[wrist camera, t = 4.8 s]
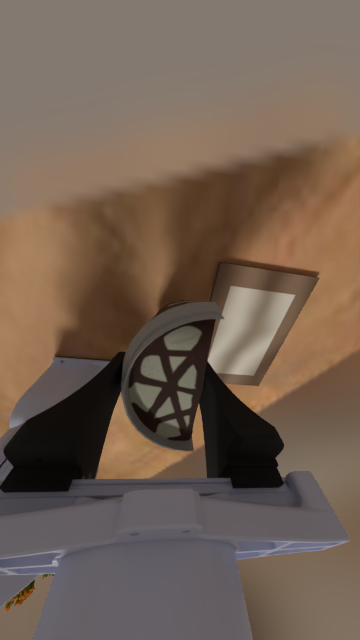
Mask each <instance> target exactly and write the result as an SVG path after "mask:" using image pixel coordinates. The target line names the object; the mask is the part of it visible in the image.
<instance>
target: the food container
mask: <svg viewBox="0 0 360 640" xmlns="http://www.w3.org/2000/svg"><path fill="white" fill-rule="evenodd" d="M216 319H224V317H223V316H222V315H221V309H220V308H219V306H218V305H217V304H216V302H203V301H202V302H194V301H179V302H175V303H171V304H169V305H167V306H166V307H164V308H162V309H161V310H159V312H158V313H157V314H156V315H155V316H154V317H153V319H152V320H150V321H149V322H148V323H147V324H146V325H145V326H144V327H142V328H141V329H140V330H139V332H138V333H137V334H136V336H135V337H134V338H133V339H132V341H131V343H130V345H129V347H128V349H127V350H126V353H125V357H124V360H123V365H122V374H121V394H122V399H123V403H124V407H125V410H126V414H127V416H128V418H129V420H130V421H131V423H132V424H133V426H134V427H135V428H136V430H137V431H138V432H139V433H141V434H142V435H143V436H144V437H145V438H147V439H148V440H150V441H151V442H153V443H155V444H157V445H159V446H162V447H165V448H168V449H172V450H177V451H184V452H194V450H193V443H192V429H193V423H194V419H195V415H196V411H197V407H198V404H199V401H200V397H201V394H202V390H203V384H204V378H205V371H206V365H207V360H208V354H209V350H210V345H211V340H212V335H213V331H214V326H215V321H216Z"/></svg>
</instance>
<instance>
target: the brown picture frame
mask: <svg viewBox="0 0 360 640" xmlns="http://www.w3.org/2000/svg"><path fill="white" fill-rule="evenodd" d="M318 280H319V278H317V277H312V276H306V275H299V274H293V273H287V272H280V271H274V270H268V269H262V268H255V267H249V266H243V265H236V264H230V263H224V262H219V266H218V270H217V273H216V277H215V281H214V285H213V289H212V293H211V297H210V301H209V302H216V304H217V305H218V306H219V308H220V309H221V315H222V316H223V317H224V319H216V321H215V326H214V331H213V335H212V340H211V345H210V350H209V354H208V360H207V361H208V362H209V364H210V365H211V367H212V368H213V369H214V371H215V372H216V374H217V375H218V376H219V378H220V379H221V380H222V381H223V383H224V384H238V385H253V386H259V384H260V383H261V381H262V379H263V377H264V375H265V374H266V372H267V370H268V368H269V367H270V365H271V363H272V361H273V360H274V358H275V356H276V354H277V353H278V351H279V349H280V347H281V345H282V344H283V342H284V340H285V338H286V337H287V335H288V333H289V331H290V330H291V328H292V326H293V324H294V322H295V321H296V319H297V317H298V315H299V314H300V312H301V310H302V308H303V307H304V305H305V303H306V301H307V299H308V298H309V296H310V294H311V292H312V291H313V289H314V287H315V285H316V284H317V282H318Z"/></svg>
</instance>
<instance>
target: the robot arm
mask: <svg viewBox="0 0 360 640" xmlns="http://www.w3.org/2000/svg"><path fill="white" fill-rule="evenodd" d="M125 353H126V352H118V354H117V355H116V356H115V357H114V358H113V359H112V360H111V361H102V360H89V359H75V358H62V357H54V358H53V359H52V363H53V364H52V365H51V366H50V367H49V368H48V369H47V370H46V371H45V372H44V373H43V374H42V375H41V377H40V378H39V379H38V380H37V381H36V382H35V383H34V384H33V385H32V386H31V387H30V388H29V389H28V390H27V391H26V392H25V394H24V395H23V396H22V397H21V398H20V400H19V401H18V402H17V404H16V406H15V408H14V410H13V412H12V414H11V417H10V422H9V427H10V429H9V430H8V431H7V432H6V433H5V434H4V435H3V436H2V437H1V438H0V608H1V607H2V606H3V605H4V604H6V603H7V602H8V601H9V600H10V599H12V598H13V597H14V596H15V595H17V594H18V593H19V592H20V591H21V590H23V589H24V588H25V587H26V586H27V585H29V584H30V583H31V582H32V581H33V580H35V579H36V578H37V577H38V576H39V575H40V574H55V575H54V578H53V582H52V584H51V587H50V590H49V593H48V595H47V598H46V601H45V604H44V607H43V610H42V613H41V616H40V618H39V622H38V624H37V627H36V630H35V633H34V636H33V639H32V640H253V638H252V633H251V628H250V623H249V618H248V613H247V608H246V603H245V598H244V594H243V589H242V584H241V579H240V574H239V569H238V564H237V560H239V559H246V558H255V557H263V556H271V555H280V554H288V553H298V552H308V551H321V550H324V549H327V548H330V547H333V546H336V545H339V544H342V543H345V542H348V541H350V537H349V535H348V533H347V532H346V530H345V528H344V527H343V525H342V523H341V522H340V520H339V519H338V517H337V515H336V513H335V512H334V510H333V508H332V507H331V505H330V503H329V502H328V500H327V498H326V497H325V495H324V493H323V492H322V490H321V488H320V487H319V485H318V483H317V481H316V480H315V478H314V477H313V475H312V473H311V472H309V471H295V472H290V473H289V474H287V475H286V477H285V478H283V477H281V476H280V473H279V471H278V469H277V466H278V463H277V461H276V459H275V458H276V457H277V455H278V454H279V453H280V452H281V451H282V450H283V448H284V443H283V442H282V439H281V438H280V436H279V434H278V432H277V430H276V429H275V427H274V426H272V425H271V424H269V423H268V422H267V421H265V420H264V419H262V418H260V416H258V415H257V414H256V413H254V412H253V411H252V410H251V409H250V408H248V407H247V406H246V405H245V404H244V403H243V402H242V401H240V400H239V399H238V398H237V397H236V396H235V395H234V394H233V393H232V392H231V391H230V390H229V388H228V387H227V386H226V385H225V384H224V383H223V381H222V380H221V379H220V378H219V376H218V375H217V374H216V372H215V371H214V369H213V368H212V367H211V365H210V364H209V362H208V361H207V365H206V371H205V378H204V384H203V390H202V394H201V397H200V401H199V404H200V409H201V415H202V422H203V431H204V441H205V453H206V468H207V478H183V479H182V478H181V479H179V478H178V479H96V478H97V474H98V467H99V461H100V457H101V453H102V449H103V445H104V442H105V438H106V434H107V431H108V427H109V424H110V420H111V417H112V413H113V410H114V407H115V405H116V402H117V400H118V397H119V395H120V392H121V374H122V365H123V360H124V357H125Z"/></svg>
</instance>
